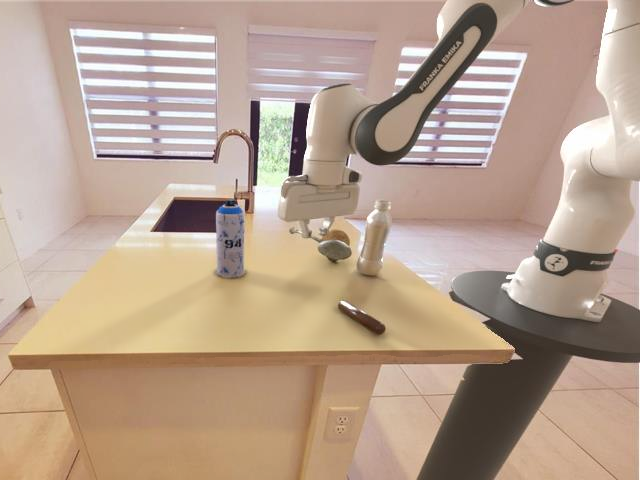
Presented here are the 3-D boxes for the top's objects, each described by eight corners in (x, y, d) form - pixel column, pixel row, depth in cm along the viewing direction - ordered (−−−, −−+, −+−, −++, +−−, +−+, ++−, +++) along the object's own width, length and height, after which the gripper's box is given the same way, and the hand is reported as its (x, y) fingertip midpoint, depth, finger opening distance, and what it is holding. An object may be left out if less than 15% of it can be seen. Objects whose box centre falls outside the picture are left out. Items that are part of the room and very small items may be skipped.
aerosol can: (219, 279, 84) (218, 203, 75) (214, 268, 91) (212, 197, 82) (247, 276, 86) (249, 201, 77) (240, 265, 93) (241, 196, 83)
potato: (315, 264, 94) (319, 232, 90) (316, 254, 102) (320, 224, 97) (346, 267, 92) (353, 234, 88) (345, 257, 100) (350, 226, 95)
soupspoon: (330, 266, 65) (357, 260, 67) (332, 251, 63) (359, 245, 65) (281, 235, 83) (303, 231, 85) (281, 223, 81) (303, 218, 83)
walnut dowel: (343, 306, 72) (344, 297, 71) (386, 335, 62) (389, 324, 61) (334, 309, 71) (336, 299, 70) (378, 338, 61) (380, 327, 60)
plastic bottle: (367, 267, 93) (382, 198, 83) (385, 276, 87) (403, 202, 78) (350, 271, 90) (364, 199, 81) (368, 280, 85) (384, 204, 76)
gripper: (291, 178, 61) (285, 246, 68) (368, 174, 69) (356, 235, 76) (274, 174, 66) (270, 238, 73) (348, 171, 74) (338, 228, 81)
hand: (315, 236), depth 74 cm, fingers closed on soupspoon, 3 cm apart
